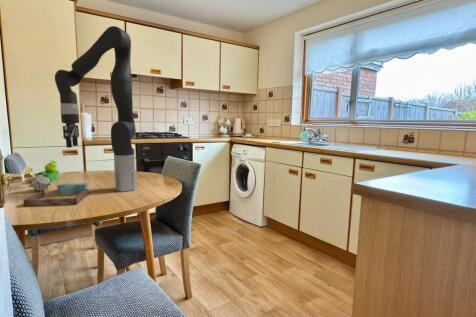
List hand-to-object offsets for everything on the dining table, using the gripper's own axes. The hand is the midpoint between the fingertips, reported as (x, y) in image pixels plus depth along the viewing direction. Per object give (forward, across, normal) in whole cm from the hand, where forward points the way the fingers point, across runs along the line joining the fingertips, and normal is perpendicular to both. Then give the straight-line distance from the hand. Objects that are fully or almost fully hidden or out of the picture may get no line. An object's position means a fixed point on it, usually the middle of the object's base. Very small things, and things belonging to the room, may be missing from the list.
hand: (72, 146), depth 140 cm
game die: (+20, -6, +13) cm, 25 cm away
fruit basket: (+20, +15, +18) cm, 31 cm away
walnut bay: (+20, -23, -1) cm, 31 cm away
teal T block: (+20, -10, -1) cm, 23 cm away
